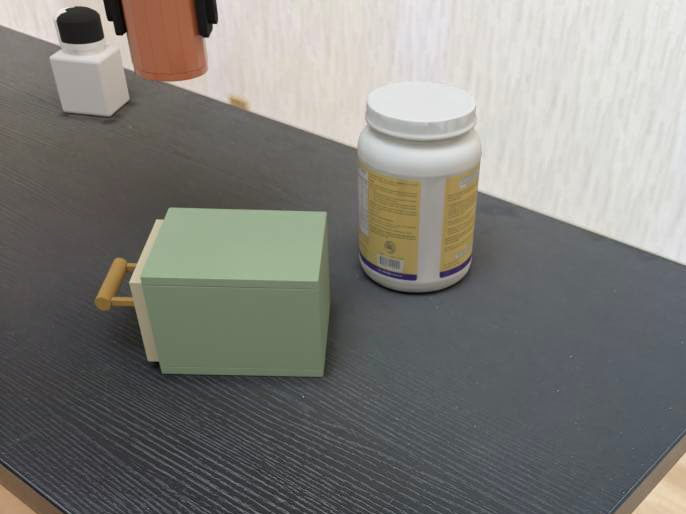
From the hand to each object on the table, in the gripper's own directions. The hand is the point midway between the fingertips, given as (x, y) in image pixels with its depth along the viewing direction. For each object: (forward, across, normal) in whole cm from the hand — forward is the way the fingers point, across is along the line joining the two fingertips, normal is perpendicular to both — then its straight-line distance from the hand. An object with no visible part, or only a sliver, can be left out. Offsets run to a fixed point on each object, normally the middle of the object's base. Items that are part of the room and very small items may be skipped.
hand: (165, 30), depth 71 cm
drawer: (+21, -3, +15) cm, 26 cm away
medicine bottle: (+22, +21, -44) cm, 53 cm away
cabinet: (+22, -7, +15) cm, 27 cm away
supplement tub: (+22, -23, +1) cm, 32 cm away
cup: (+3, 0, 0) cm, 3 cm away
